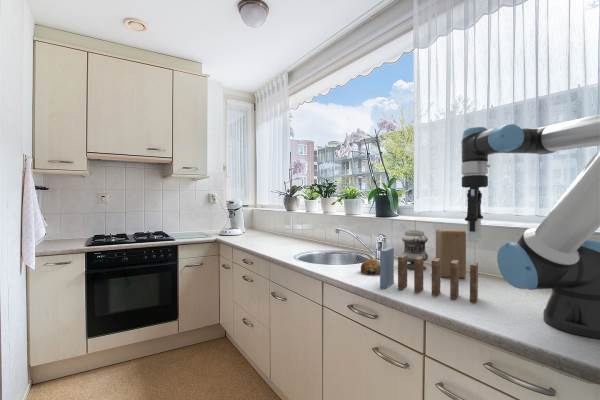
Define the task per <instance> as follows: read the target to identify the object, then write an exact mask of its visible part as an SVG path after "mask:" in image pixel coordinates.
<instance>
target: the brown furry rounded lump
mask: <svg viewBox="0 0 600 400" xmlns="http://www.w3.org/2000/svg"><path fill="white" fill-rule="evenodd" d="M360 272H361V274H364V275H367V276H368V275H369V276H380V260H378V259H376V258H370V259H369V258H368V259H366V260H365V261H363V262H362V263H361V266H360Z"/></svg>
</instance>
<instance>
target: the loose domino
mask: <svg viewBox="0 0 600 400" xmlns="http://www.w3.org/2000/svg"><path fill="white" fill-rule="evenodd" d="M478 287H479V262H476V261H471V263H470V264H469V302H470V303H473V304H477V301H478V299H479V293H478V292H479V288H478Z"/></svg>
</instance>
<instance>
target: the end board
mask: <svg viewBox="0 0 600 400" xmlns="http://www.w3.org/2000/svg"><path fill="white" fill-rule="evenodd" d="M394 260H395V248H394V247H391V246H389V247H386V248H382V249H381V250H379V262H380V274H379V288H380V289H382V290H384V289H385V290H386V289H387V288H390V286H391V285H393V284H394V283H395V282H394V281H395V278H394V277H395V261H394Z"/></svg>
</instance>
